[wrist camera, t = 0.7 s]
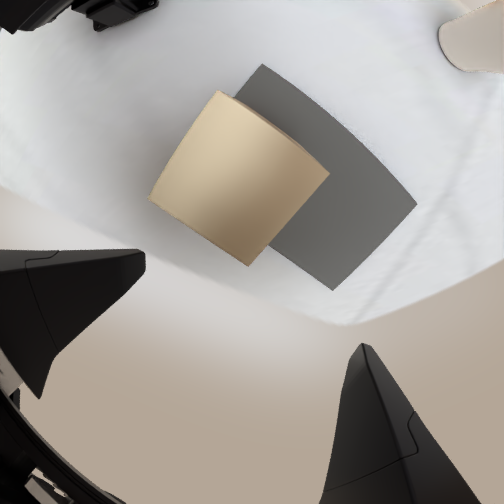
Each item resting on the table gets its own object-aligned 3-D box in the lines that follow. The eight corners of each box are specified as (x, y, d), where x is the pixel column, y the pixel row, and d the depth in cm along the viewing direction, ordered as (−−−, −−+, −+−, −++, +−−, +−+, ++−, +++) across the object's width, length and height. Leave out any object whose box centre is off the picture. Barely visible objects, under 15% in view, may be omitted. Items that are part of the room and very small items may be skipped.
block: (207, 153, 21) (147, 198, 10) (245, 103, 19) (217, 89, 8) (258, 189, 22) (248, 266, 11) (296, 141, 20) (329, 173, 9)
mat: (177, 179, 22) (175, 181, 22) (262, 64, 17) (262, 63, 17) (331, 287, 27) (332, 290, 26) (415, 202, 22) (417, 203, 21)
